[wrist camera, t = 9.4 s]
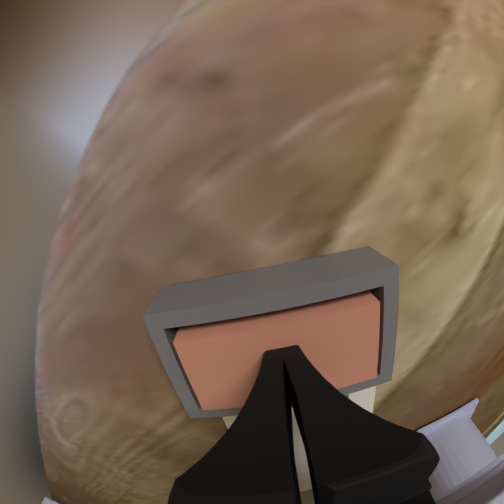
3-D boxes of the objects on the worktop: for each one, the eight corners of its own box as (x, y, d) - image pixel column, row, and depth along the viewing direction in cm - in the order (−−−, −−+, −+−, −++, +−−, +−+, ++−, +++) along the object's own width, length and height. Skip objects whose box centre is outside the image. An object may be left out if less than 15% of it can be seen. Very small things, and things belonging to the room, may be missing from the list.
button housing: (370, 348, 14) (391, 380, 11) (198, 381, 14) (190, 418, 12) (368, 246, 12) (398, 265, 10) (163, 286, 13) (141, 315, 10)
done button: (363, 355, 12) (376, 377, 10) (207, 385, 13) (203, 410, 11) (363, 284, 11) (380, 302, 9) (182, 320, 11) (172, 342, 10)
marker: (342, 425, 15) (368, 518, 8) (293, 446, 16) (303, 537, 8) (316, 399, 15) (342, 512, 7) (262, 424, 15) (265, 530, 7)
